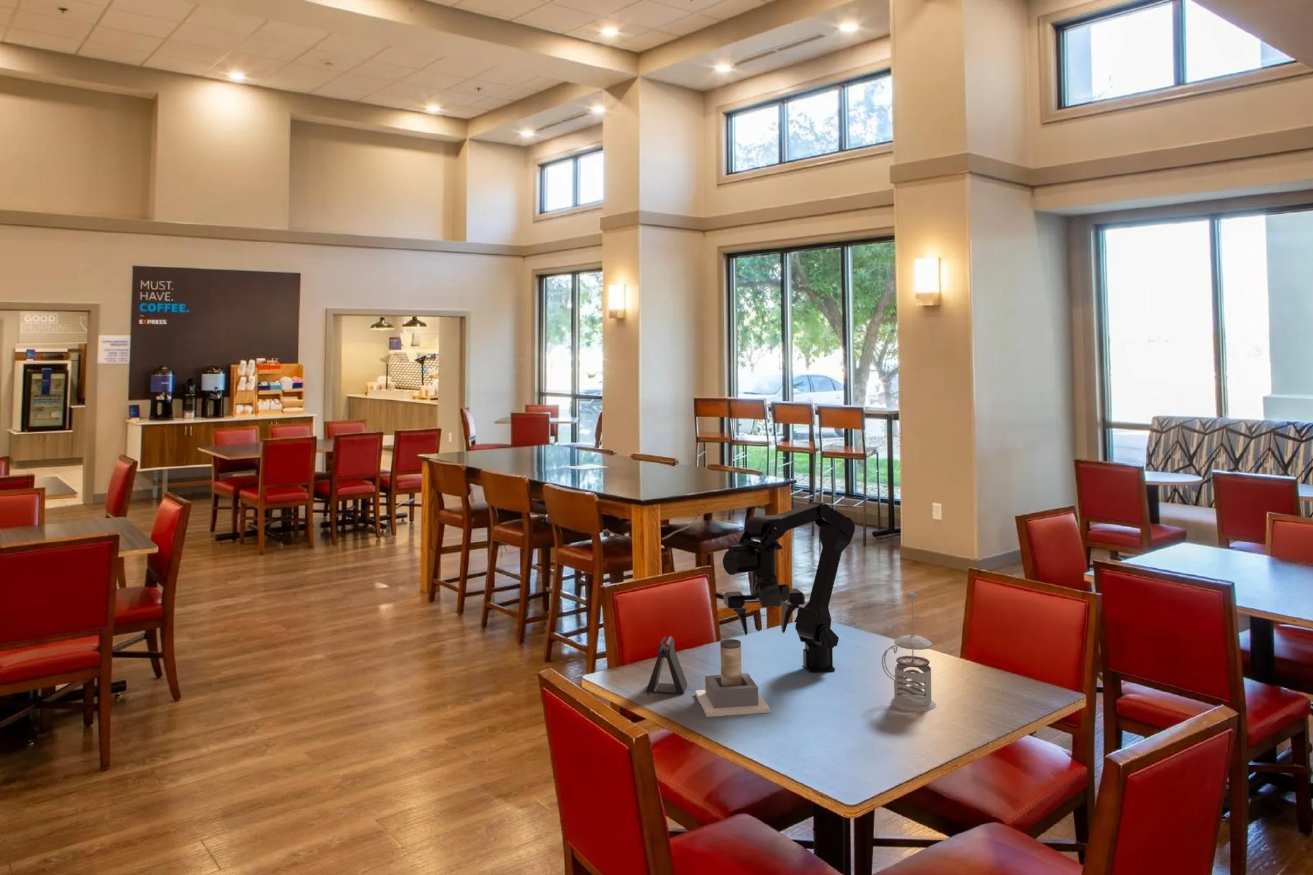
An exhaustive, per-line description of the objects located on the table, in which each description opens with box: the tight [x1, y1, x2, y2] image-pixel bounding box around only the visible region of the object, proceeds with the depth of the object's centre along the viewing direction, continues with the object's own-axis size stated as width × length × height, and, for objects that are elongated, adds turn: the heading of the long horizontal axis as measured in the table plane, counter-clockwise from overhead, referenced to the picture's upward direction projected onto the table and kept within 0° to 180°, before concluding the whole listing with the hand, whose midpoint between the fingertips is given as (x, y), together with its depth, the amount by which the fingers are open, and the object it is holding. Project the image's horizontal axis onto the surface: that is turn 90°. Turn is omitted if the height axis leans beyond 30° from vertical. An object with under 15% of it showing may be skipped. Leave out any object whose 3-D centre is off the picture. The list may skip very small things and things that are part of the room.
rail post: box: [719, 638, 742, 687], centre depth 191 cm, size 5×5×13 cm
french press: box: [881, 592, 937, 712], centre depth 189 cm, size 10×12×25 cm
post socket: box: [694, 672, 771, 718], centre depth 191 cm, size 14×14×5 cm
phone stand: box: [645, 635, 688, 695], centre depth 201 cm, size 9×6×12 cm, turn 79°
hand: (764, 633), depth 204 cm, fingers open, 9 cm apart
